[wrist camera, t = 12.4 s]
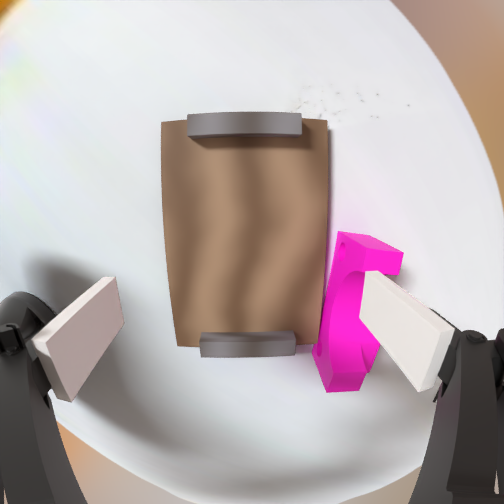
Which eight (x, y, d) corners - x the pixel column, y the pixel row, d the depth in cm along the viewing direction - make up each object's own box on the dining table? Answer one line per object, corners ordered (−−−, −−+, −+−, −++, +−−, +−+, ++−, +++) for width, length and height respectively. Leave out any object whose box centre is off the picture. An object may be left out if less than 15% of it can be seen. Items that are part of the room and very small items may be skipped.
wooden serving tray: (179, 341, 30) (173, 356, 28) (164, 124, 24) (155, 118, 21) (315, 338, 31) (321, 353, 28) (324, 122, 25) (333, 116, 22)
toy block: (356, 351, 32) (378, 388, 25) (311, 352, 32) (326, 392, 24) (387, 237, 28) (424, 255, 21) (337, 230, 28) (367, 247, 21)
